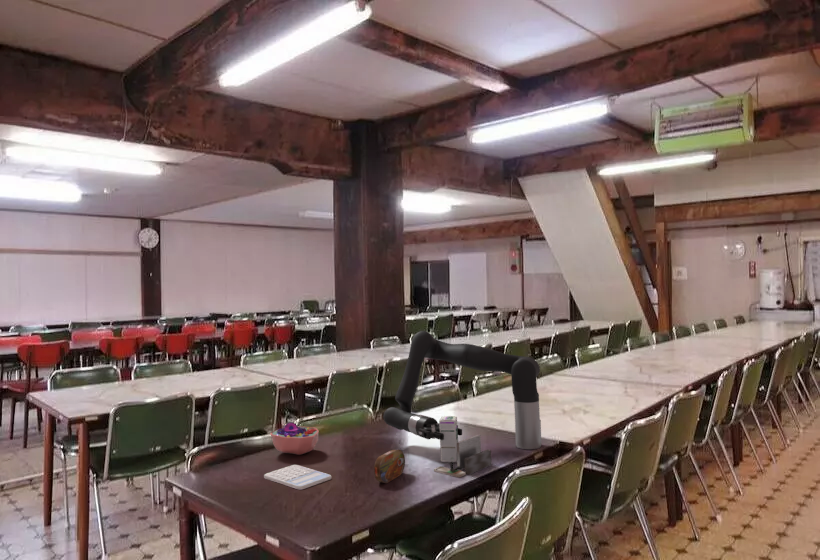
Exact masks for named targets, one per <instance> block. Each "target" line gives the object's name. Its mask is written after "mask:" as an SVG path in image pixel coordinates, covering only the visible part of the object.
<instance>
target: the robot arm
mask: <svg viewBox="0 0 820 560" xmlns="http://www.w3.org/2000/svg"><path fill="white" fill-rule="evenodd" d="M425 359H431V360H438V361H444V362H448V363H451V364H454V365H458V366H461V367H465V368H468V369H472V370H475V371H480V372H481V371H482V372H484V371H486V372H498V373H504V374H509V375H511V389H512V395H513V402H514V403H513V405H514V406H513V407H514V408H513V409H514V424H515V425H514V429H515V430H514V432H515V433H514V434H515V447H517V448H518V449H521V450H536V449H540V448H541V446H542V421H541V418H540V417H541V415H540V394H539V392H538V388H537V387H538V386H537V378H538V376H539V375H540V371H541V367H540V365H539V362H538V361H536V359H534V358H533V357H529V356H523V355H515V354H509V353H504V352H500V351H498V350H494V349H491V348H487V347H483V346H480V345H476V344H471V343H448V342H444V341H441V340H439V339H436V338H434V336H433V335H432V334H431V333H429V331H426V330H420V331H418V332H416V333H415V334H414V335H413V337H412V339H411V344H410V347H409V353H408V357H407V362H406V365H405V368H404V371H403V372H404V373H403V375H402V378H401V380H400V383H399V386H398V388H397V391H396V393H395V397H394V400H395V401H396V402H397V403H398V405H399V408H397V407H394V406H391V407H388V408H387V409H385V411H384V412H383V421H384V423H385V424H386V425H388V426H390V427H393V428H394V429H397V430H399V431H402V430H404V431H405V432H408V433H410V434H414V435H416V436H418V437H421V438H423V439H426V440H431V439H436V440H439V441H440V440H444V434H443V433H440V428H439V422H438V421H437V419H436V418H434V417H431V416H427V415H423V414H416V413H414V412H413V413H412V408H413V407H412V405H413V400H414V398H415V395H416V393H417V391H418V387H419V381H420V374H421V368H422V365H423V362H424V360H425ZM457 427H458V436H463V428H460V427H459V424H457Z"/></svg>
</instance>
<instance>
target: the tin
mask: <svg viewBox="0 0 820 560" xmlns="http://www.w3.org/2000/svg"><path fill="white" fill-rule="evenodd" d="M405 466H406V458H405V454H404V452H403V451H402V450H401V449H391V450H389V451H387V452H385V453H383V454H382V455H379V456H378V457H377V458H376V459H375V462H374V466H373V469H374V471H373V472H374V478H375V480H376V481H377V482H378V483H383V484H388V483H390V482H391V481H393V480H395V479H397V478H398V477H400V476H401V475H402V473H403V472H404V471H405Z"/></svg>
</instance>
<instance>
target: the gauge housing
mask: <svg viewBox="0 0 820 560" xmlns="http://www.w3.org/2000/svg"><path fill="white" fill-rule="evenodd" d="M464 462H465V468H464V471H463V470H455V471H453V472H451V471H450V467H446V466H443V465H442V466H437V467H436V468H435V467H434V468H433V472H435V473H438V474H442V475H446V476H447V475H448V476H450V477H451V476H452V477H455V478H461V477H463V476H466V475H467V476H470V475H472V474H475V473H476V471H477V472H478V471H479V472H480V471H482V470H484V469H485V468H488V467H490V466H492V450H491V449H485V450H483V451H482V450H481V452H480V453H477V454H475V455H472V456H470V457H468V458H465V459H464ZM483 468H484V469H483ZM474 472H475V473H474Z"/></svg>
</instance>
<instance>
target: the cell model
mask: <svg viewBox="0 0 820 560" xmlns="http://www.w3.org/2000/svg"><path fill="white" fill-rule="evenodd" d="M269 434H270V436H271V439H272V444H273V446H274V448H275V449H276V450H277V451H278V452H280V453H282V454H293V455H298V456H300V455H303V454H306V453H307V454H308V453H310V452H311V451H313V450H314V448H315V447H316V445H317V443H318V442H319V429H318V428H317V427H314V426H312V427H311V426H304V425H303V426H301V425H299V426H298V425H297V423H295V422H292V421H290V422H289V421H288V422H287V423H285V424H284V426H283V427H281V428H277V429H275V430H273V431H271V432H270V433H269Z"/></svg>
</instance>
